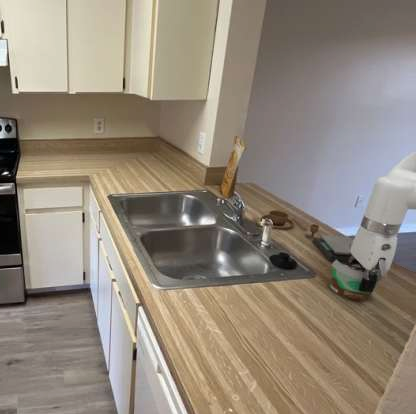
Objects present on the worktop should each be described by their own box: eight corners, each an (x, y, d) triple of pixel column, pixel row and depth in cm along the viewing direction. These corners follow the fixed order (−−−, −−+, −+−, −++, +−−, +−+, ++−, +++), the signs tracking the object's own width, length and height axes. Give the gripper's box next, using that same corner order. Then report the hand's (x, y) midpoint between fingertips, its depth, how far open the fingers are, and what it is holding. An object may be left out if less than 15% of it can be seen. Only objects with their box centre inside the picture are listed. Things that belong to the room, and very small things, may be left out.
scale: (346, 246, 119) (348, 239, 118) (366, 266, 108) (368, 258, 107) (312, 243, 121) (314, 236, 120) (328, 262, 110) (331, 255, 108)
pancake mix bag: (233, 187, 176) (242, 135, 165) (237, 200, 159) (247, 143, 148) (219, 186, 178) (227, 134, 167) (222, 199, 161) (231, 142, 150)
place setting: (291, 218, 141) (294, 205, 139) (318, 241, 123) (322, 227, 120) (249, 218, 141) (252, 205, 139) (270, 241, 123) (274, 226, 121)
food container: (332, 301, 92) (342, 271, 88) (324, 287, 97) (333, 258, 93) (383, 308, 89) (397, 277, 85) (372, 294, 94) (384, 264, 90)
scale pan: (349, 239, 118) (349, 237, 117) (368, 256, 107) (368, 254, 107) (319, 236, 119) (320, 234, 119) (335, 253, 108) (335, 251, 108)
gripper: (420, 243, 76) (393, 305, 83) (376, 212, 91) (356, 267, 98) (383, 240, 77) (359, 302, 84) (346, 210, 92) (328, 264, 100)
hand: (358, 282), depth 91 cm, fingers closed on food container, 6 cm apart
